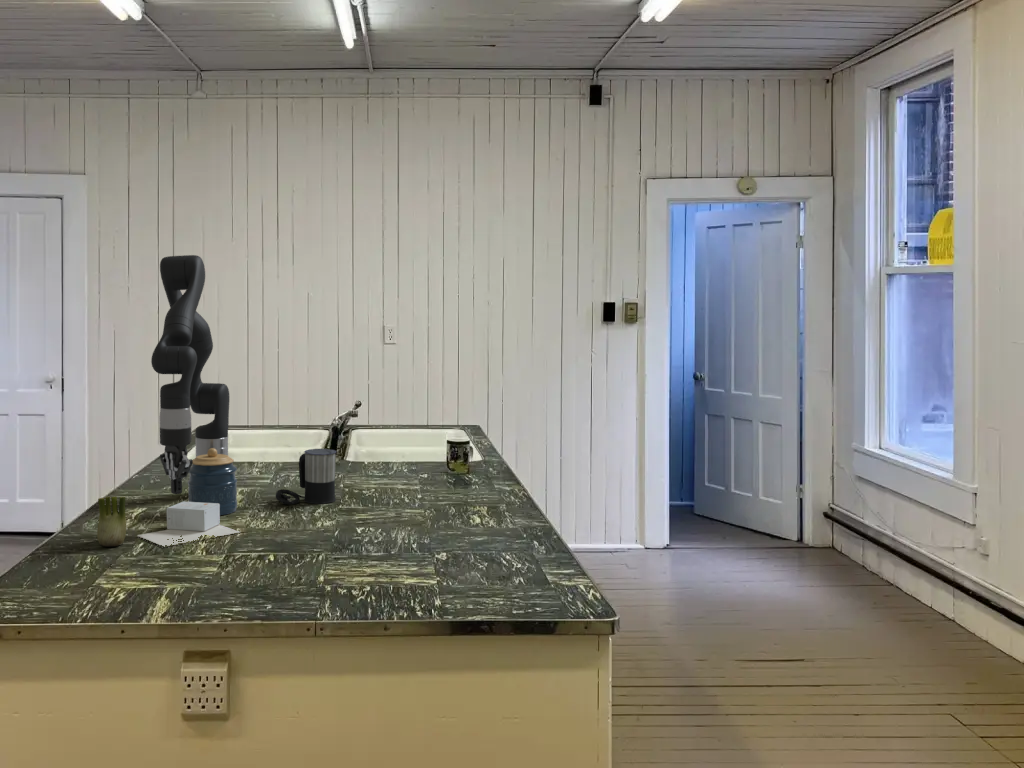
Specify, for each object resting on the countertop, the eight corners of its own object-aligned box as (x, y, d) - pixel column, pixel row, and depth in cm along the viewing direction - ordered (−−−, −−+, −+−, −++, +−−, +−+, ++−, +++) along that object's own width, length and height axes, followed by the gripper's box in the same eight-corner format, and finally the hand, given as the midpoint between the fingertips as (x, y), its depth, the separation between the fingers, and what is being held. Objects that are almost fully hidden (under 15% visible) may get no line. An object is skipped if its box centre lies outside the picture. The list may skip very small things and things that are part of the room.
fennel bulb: (128, 543, 221) (127, 494, 220) (120, 549, 216) (119, 498, 215) (103, 543, 221) (102, 493, 220) (94, 548, 216) (93, 498, 215)
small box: (166, 529, 233) (204, 532, 231) (165, 507, 233) (203, 510, 231) (183, 522, 241) (220, 524, 239) (183, 500, 241) (220, 503, 239)
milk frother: (342, 499, 273) (342, 450, 272) (308, 510, 259) (308, 458, 257) (303, 494, 279) (303, 445, 278) (268, 504, 265) (268, 453, 264)
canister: (191, 518, 246) (191, 453, 245) (184, 508, 258) (183, 445, 256) (241, 514, 252) (241, 450, 251) (232, 504, 264) (232, 443, 262)
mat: (211, 523, 242) (211, 521, 242) (240, 533, 232) (240, 531, 232) (137, 536, 227) (137, 535, 227) (164, 548, 218) (164, 546, 218)
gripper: (202, 427, 230) (203, 495, 232) (176, 421, 239) (177, 487, 241) (174, 430, 225) (175, 500, 226) (148, 423, 234) (149, 491, 235)
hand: (176, 493), depth 234 cm, fingers closed
